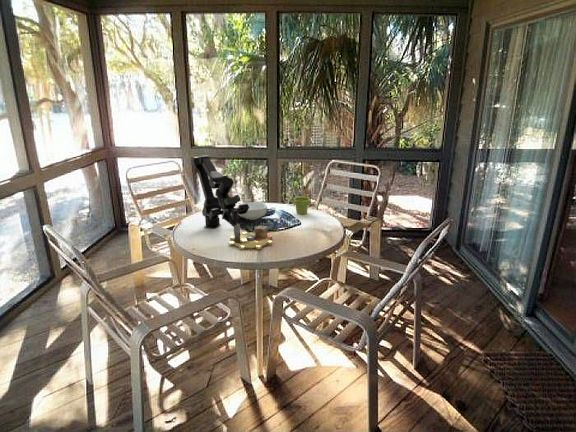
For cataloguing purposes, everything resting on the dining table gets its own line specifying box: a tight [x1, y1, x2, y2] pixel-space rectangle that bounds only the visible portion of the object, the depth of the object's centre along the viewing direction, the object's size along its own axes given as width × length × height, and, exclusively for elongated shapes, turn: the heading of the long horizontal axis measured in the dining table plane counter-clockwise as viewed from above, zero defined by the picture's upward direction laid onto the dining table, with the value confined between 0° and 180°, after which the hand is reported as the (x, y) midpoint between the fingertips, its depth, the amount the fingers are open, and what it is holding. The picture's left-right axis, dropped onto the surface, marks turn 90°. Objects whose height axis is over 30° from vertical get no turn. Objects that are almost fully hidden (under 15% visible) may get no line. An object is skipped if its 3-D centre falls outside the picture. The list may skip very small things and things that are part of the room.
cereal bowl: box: [236, 201, 268, 221], centre depth 220 cm, size 17×17×7 cm
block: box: [254, 225, 269, 238], centre depth 188 cm, size 4×4×4 cm
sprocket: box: [228, 223, 273, 250], centre depth 184 cm, size 21×21×10 cm
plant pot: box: [293, 196, 311, 215], centre depth 227 cm, size 9×9×9 cm
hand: (235, 226), depth 181 cm, fingers closed
